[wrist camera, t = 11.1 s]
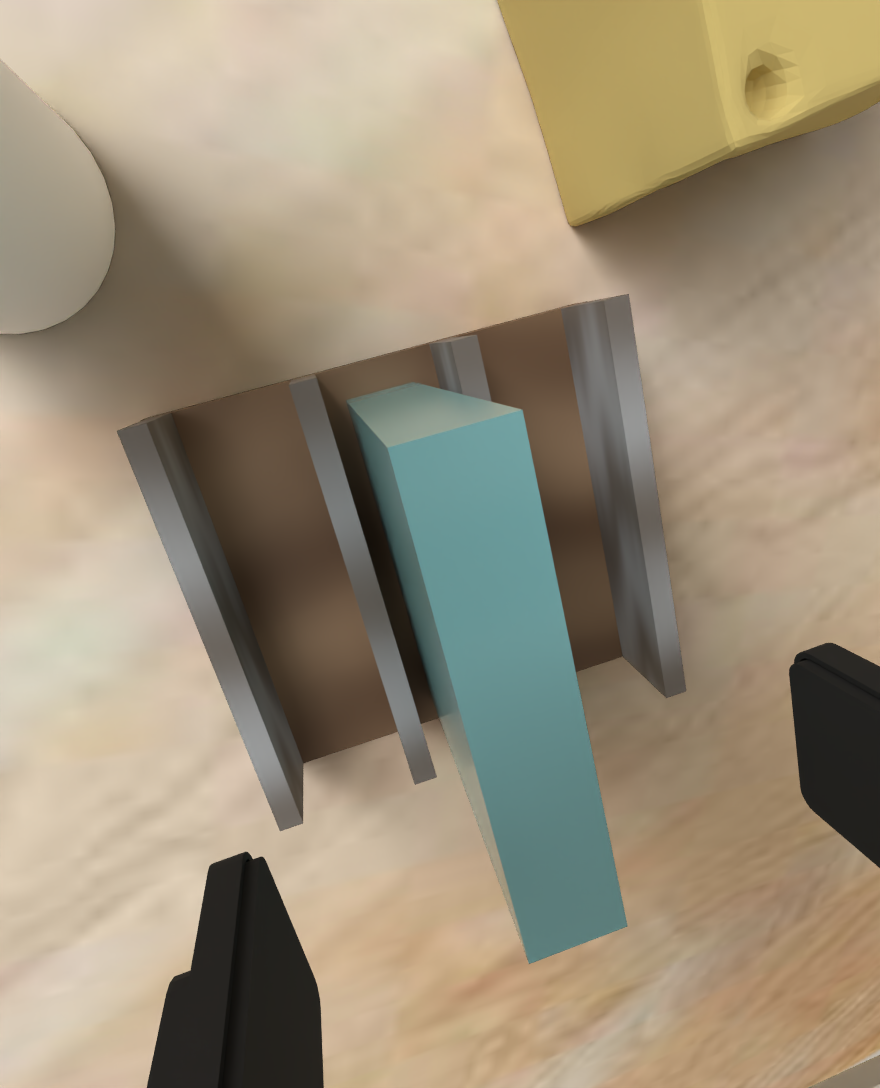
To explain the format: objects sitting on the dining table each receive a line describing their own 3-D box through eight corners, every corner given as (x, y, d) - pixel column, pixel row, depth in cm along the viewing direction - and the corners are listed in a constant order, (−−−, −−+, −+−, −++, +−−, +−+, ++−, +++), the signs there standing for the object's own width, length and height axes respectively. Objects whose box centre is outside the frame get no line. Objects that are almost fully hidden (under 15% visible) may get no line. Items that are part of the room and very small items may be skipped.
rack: (631, 637, 28) (691, 689, 24) (279, 753, 27) (274, 833, 22) (574, 303, 24) (634, 292, 20) (148, 417, 22) (109, 433, 18)
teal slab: (488, 680, 26) (627, 926, 15) (431, 698, 26) (529, 963, 15) (413, 381, 22) (522, 409, 11) (345, 400, 22) (387, 447, 11)
